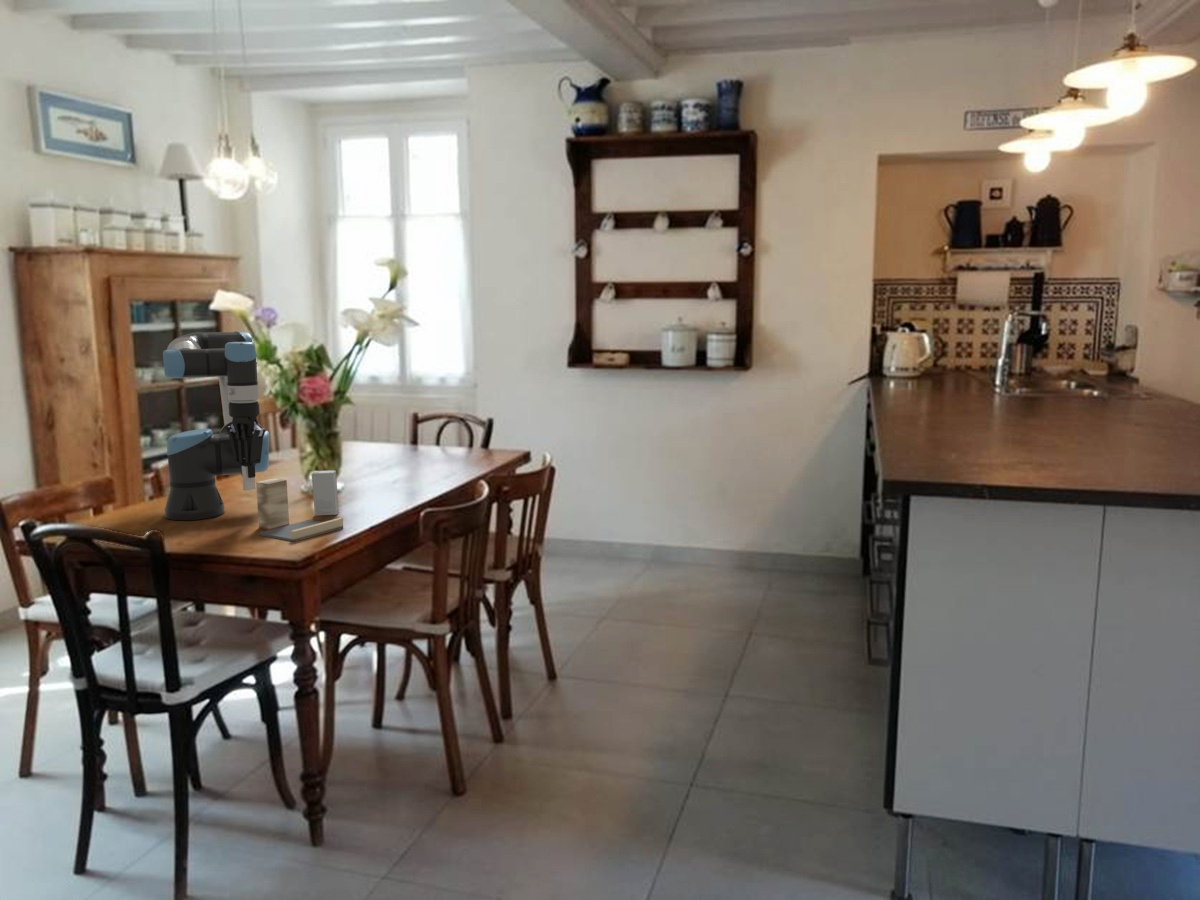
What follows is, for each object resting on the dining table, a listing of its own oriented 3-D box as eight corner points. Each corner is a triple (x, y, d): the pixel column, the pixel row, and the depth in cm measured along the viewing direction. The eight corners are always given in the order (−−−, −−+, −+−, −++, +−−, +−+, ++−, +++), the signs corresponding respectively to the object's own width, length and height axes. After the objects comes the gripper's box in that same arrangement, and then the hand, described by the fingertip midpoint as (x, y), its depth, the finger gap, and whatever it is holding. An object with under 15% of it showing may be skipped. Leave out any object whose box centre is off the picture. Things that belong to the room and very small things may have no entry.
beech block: (258, 527, 238) (256, 482, 236) (277, 523, 243) (274, 478, 241) (270, 530, 235) (267, 483, 233) (289, 525, 240) (286, 480, 238)
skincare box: (339, 512, 256) (337, 469, 254) (336, 515, 251) (334, 472, 249) (316, 512, 255) (314, 470, 253) (313, 516, 250) (311, 473, 249)
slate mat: (259, 535, 230) (258, 525, 230) (308, 522, 244) (308, 512, 243) (294, 541, 224) (293, 531, 223) (343, 528, 237) (342, 518, 237)
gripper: (215, 401, 238) (221, 489, 242) (248, 403, 232) (253, 494, 236) (239, 398, 245) (245, 484, 249) (272, 401, 238) (277, 489, 242)
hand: (249, 489), depth 242 cm, fingers closed
